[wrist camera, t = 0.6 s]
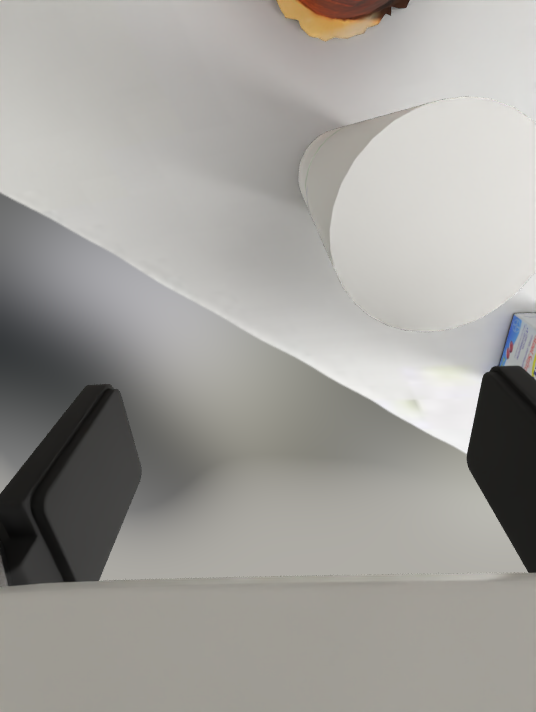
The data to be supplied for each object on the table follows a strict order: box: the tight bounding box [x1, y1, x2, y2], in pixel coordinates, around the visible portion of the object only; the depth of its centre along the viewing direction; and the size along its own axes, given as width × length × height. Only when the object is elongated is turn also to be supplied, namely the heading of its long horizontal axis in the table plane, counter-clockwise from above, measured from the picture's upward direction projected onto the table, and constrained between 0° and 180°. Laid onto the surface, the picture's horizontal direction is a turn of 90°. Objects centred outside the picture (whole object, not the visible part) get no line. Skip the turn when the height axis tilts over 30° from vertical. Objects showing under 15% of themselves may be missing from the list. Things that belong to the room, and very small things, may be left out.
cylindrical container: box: [298, 96, 536, 332], centre depth 24 cm, size 7×7×25 cm
